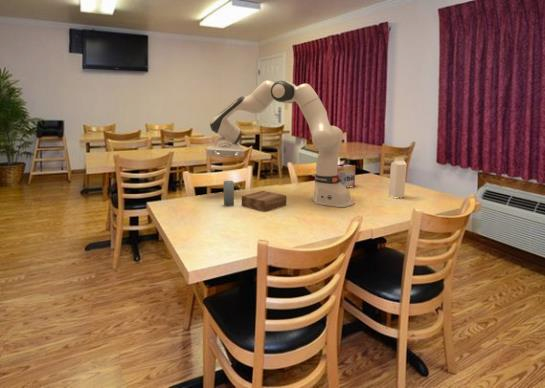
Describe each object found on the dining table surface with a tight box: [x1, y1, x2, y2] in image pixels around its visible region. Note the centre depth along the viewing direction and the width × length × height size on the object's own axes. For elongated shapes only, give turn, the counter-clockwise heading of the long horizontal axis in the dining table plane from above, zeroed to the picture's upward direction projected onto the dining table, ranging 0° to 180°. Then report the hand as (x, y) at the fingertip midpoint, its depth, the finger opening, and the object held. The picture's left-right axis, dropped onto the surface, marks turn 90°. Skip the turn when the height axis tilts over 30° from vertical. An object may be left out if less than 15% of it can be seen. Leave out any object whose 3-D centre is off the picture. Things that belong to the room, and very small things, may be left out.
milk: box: [388, 157, 408, 197], centre depth 213 cm, size 6×6×22 cm
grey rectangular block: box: [223, 180, 235, 207], centre depth 196 cm, size 5×5×12 cm
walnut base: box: [241, 190, 287, 213], centre depth 196 cm, size 16×16×5 cm
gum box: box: [337, 163, 356, 188], centre depth 237 cm, size 24×8×14 cm, turn 123°
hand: (227, 155), depth 202 cm, fingers open, 8 cm apart
